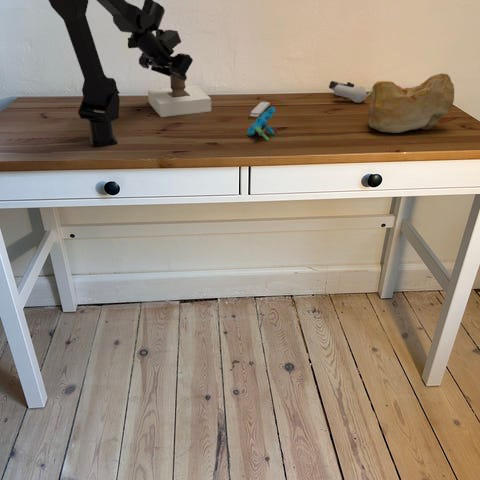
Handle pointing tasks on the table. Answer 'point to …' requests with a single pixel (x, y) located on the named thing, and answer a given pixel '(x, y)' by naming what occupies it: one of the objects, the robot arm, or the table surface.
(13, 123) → the table surface
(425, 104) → the rough brown rock
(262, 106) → the harmonica
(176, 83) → the walnut peg
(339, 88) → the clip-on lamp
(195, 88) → the white board
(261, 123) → the gear
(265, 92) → the table surface
